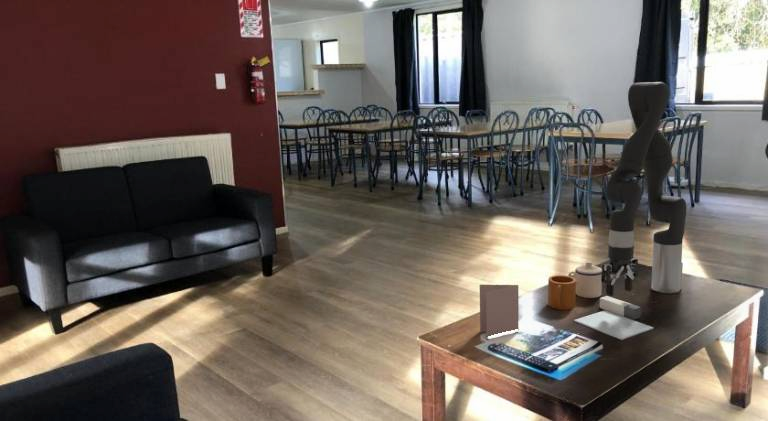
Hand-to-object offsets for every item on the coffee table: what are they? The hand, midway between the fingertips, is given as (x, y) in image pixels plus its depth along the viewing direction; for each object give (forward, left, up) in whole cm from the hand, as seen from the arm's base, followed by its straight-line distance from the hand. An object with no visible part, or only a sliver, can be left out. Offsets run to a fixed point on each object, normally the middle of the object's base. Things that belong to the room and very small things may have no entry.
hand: (619, 293), depth 202 cm
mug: (+11, -15, -7) cm, 20 cm away
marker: (0, 0, -7) cm, 7 cm away
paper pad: (+10, +6, -7) cm, 13 cm away
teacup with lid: (-5, -19, -7) cm, 21 cm away
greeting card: (+43, -8, -7) cm, 44 cm away
